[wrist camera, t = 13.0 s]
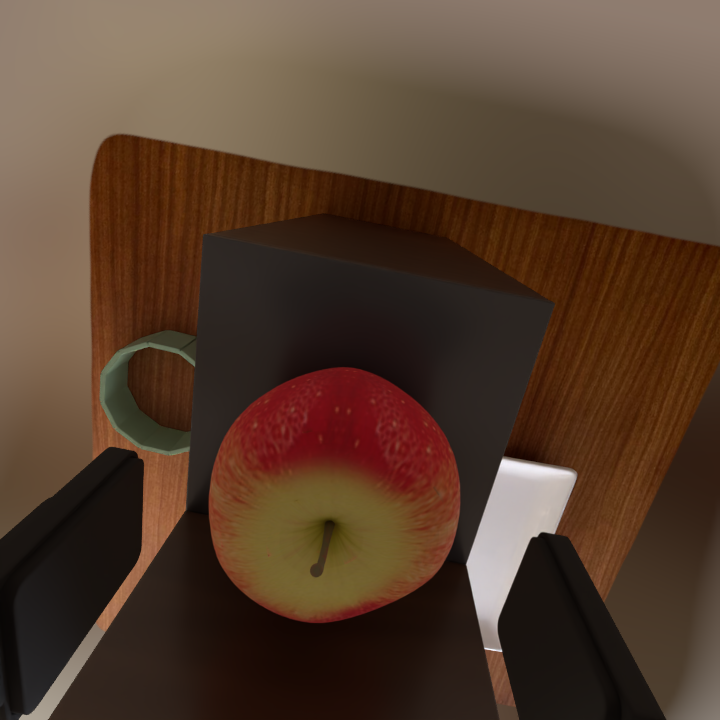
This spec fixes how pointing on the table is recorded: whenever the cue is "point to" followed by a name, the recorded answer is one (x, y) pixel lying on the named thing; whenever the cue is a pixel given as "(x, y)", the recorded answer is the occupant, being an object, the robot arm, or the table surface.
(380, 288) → the stand
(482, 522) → the tray
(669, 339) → the table surface
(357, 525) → the apple
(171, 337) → the faceted green band
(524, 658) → the robot arm
